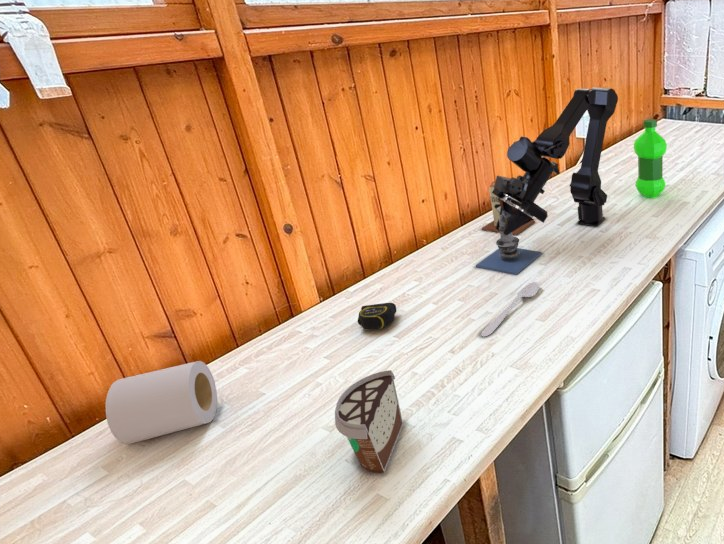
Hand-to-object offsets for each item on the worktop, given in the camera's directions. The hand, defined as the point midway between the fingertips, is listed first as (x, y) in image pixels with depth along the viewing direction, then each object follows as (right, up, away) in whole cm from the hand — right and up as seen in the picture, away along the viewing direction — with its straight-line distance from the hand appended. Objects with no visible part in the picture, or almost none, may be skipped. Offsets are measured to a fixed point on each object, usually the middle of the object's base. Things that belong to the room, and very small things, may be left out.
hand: (501, 232), depth 129 cm
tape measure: (-21, -20, -20) cm, 35 cm away
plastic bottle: (+40, +13, +45) cm, 62 cm away
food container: (-8, -34, -51) cm, 62 cm away
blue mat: (+1, -7, +4) cm, 8 cm away
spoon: (+6, -17, -18) cm, 25 cm away
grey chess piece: (+1, -6, +4) cm, 7 cm away
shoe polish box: (-5, +3, +26) cm, 27 cm away
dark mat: (-3, +2, +25) cm, 25 cm away
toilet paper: (-42, -32, -45) cm, 70 cm away
